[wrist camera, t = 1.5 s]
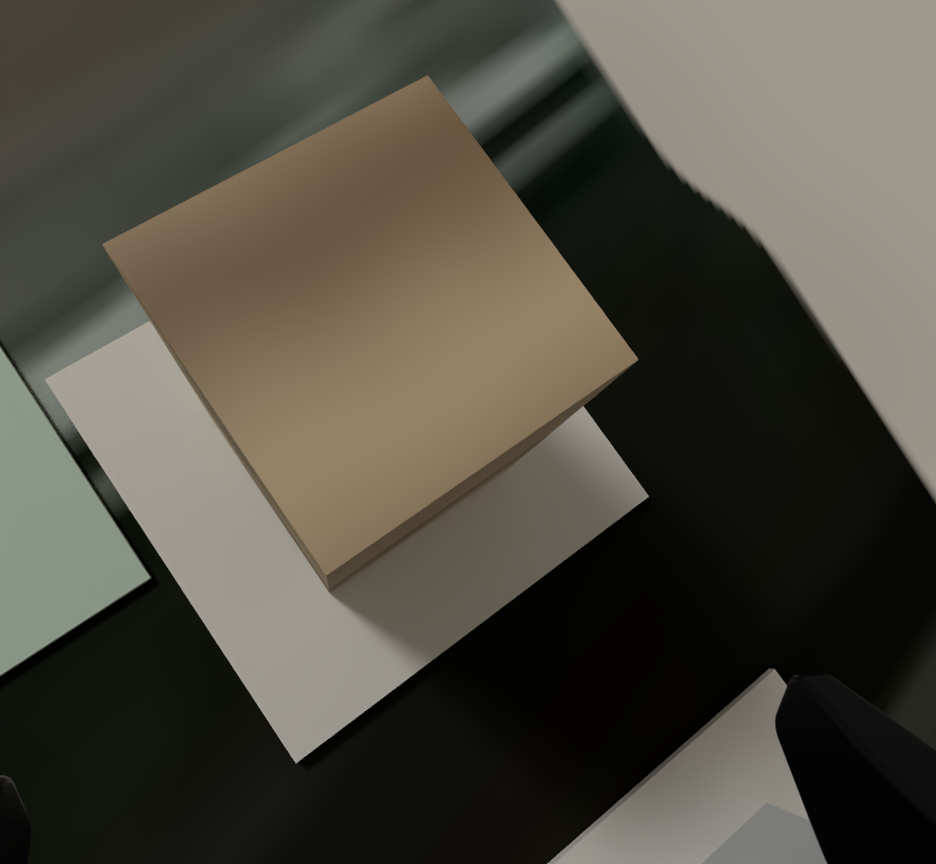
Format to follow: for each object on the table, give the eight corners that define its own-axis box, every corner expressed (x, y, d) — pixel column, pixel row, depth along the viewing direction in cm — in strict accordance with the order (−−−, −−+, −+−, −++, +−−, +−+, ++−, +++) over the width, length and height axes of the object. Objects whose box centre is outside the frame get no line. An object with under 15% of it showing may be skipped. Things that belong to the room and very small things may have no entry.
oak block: (508, 468, 23) (638, 360, 13) (330, 593, 21) (326, 575, 11) (388, 300, 23) (427, 75, 13) (206, 410, 21) (102, 244, 12)
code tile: (645, 498, 23) (649, 495, 23) (296, 761, 20) (295, 763, 20) (413, 179, 24) (414, 173, 24) (48, 382, 21) (43, 378, 21)
